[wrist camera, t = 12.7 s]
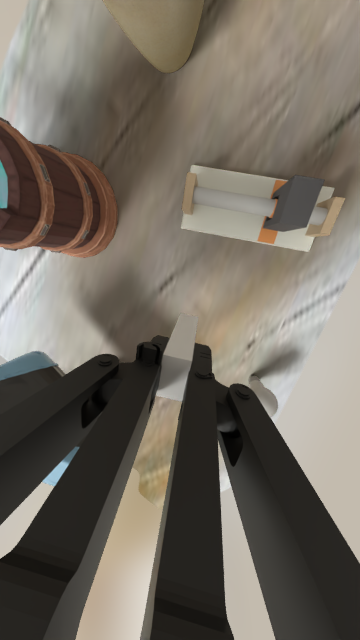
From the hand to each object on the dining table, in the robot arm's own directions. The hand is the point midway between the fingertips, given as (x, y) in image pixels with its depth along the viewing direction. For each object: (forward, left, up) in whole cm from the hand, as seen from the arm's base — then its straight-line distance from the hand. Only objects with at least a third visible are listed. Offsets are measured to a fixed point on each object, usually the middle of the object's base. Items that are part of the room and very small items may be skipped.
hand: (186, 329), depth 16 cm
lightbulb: (+18, -21, -27) cm, 38 cm away
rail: (+7, +14, -26) cm, 31 cm away
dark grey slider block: (+11, +14, -24) cm, 30 cm away
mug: (-30, +9, -27) cm, 41 cm away
